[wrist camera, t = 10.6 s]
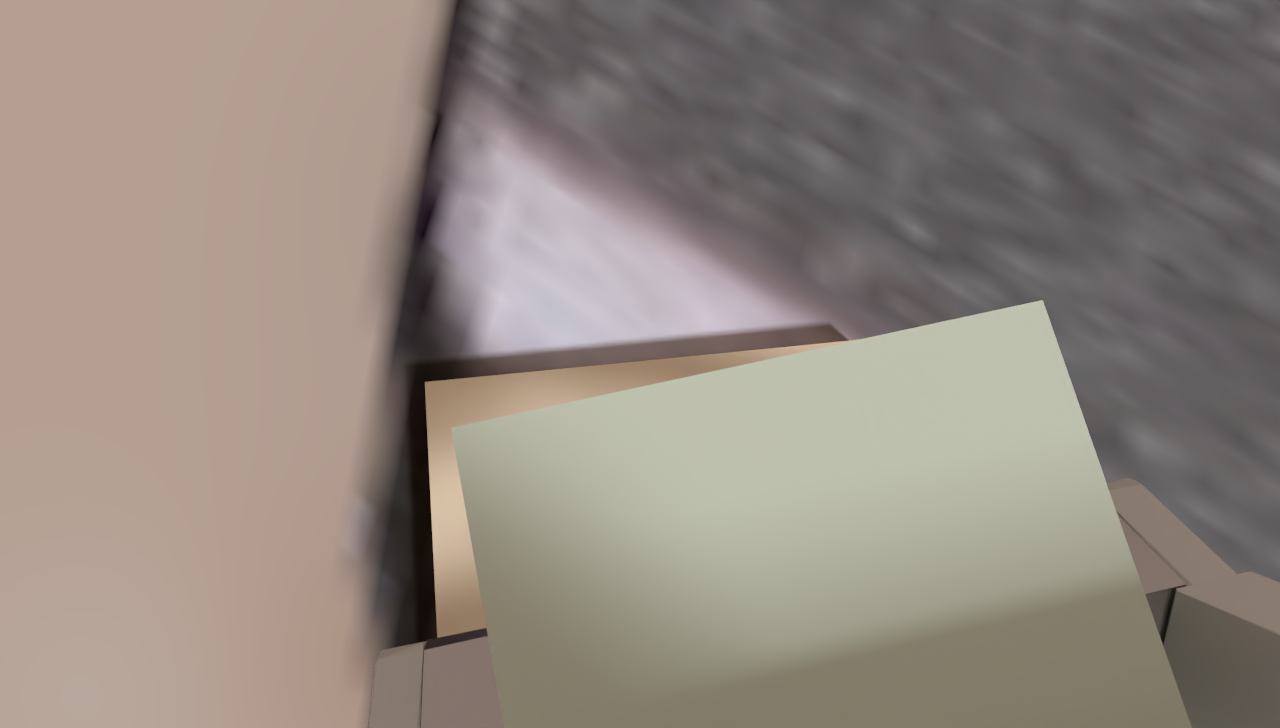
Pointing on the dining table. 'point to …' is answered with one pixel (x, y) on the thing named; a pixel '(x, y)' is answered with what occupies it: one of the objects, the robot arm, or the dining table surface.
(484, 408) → the post board
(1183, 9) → the dining table surface
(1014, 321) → the slotted sage cube
